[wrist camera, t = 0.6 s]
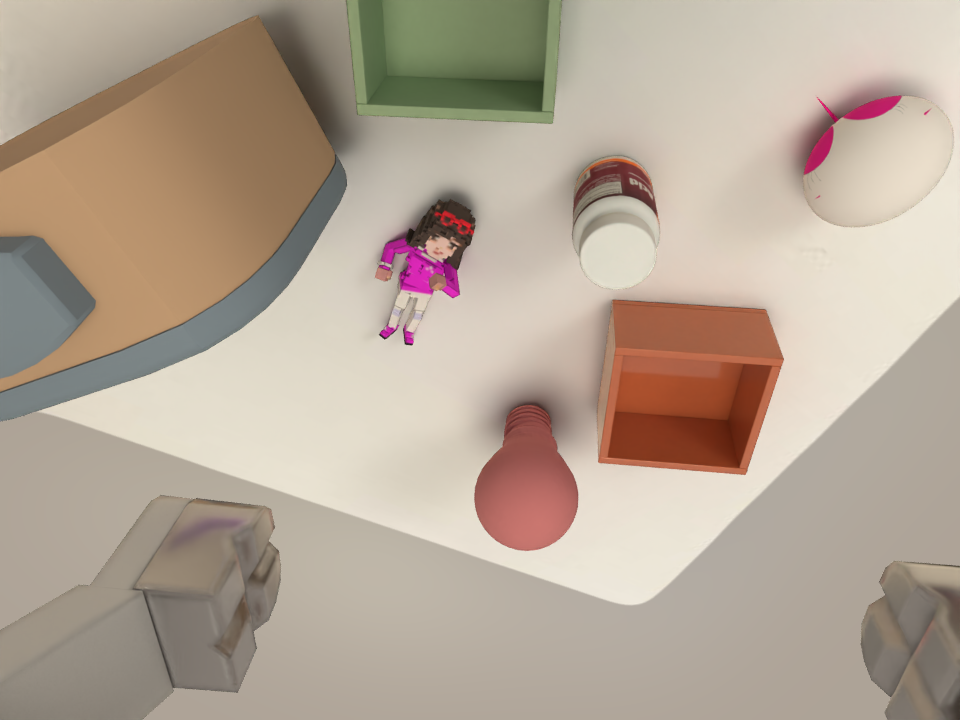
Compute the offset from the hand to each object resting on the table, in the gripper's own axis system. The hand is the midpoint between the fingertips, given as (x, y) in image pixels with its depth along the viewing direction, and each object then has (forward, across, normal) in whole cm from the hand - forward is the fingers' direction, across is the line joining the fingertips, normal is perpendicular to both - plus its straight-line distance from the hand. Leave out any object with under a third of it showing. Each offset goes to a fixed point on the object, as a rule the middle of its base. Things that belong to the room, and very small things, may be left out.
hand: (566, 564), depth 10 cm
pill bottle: (+37, -4, +7) cm, 38 cm away
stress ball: (+37, -16, +3) cm, 40 cm away
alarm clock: (+37, +22, +5) cm, 44 cm away
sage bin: (+36, +6, -4) cm, 37 cm away
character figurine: (+38, +8, +13) cm, 41 cm away
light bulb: (+40, 0, +26) cm, 47 cm away
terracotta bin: (+39, -10, +20) cm, 44 cm away
